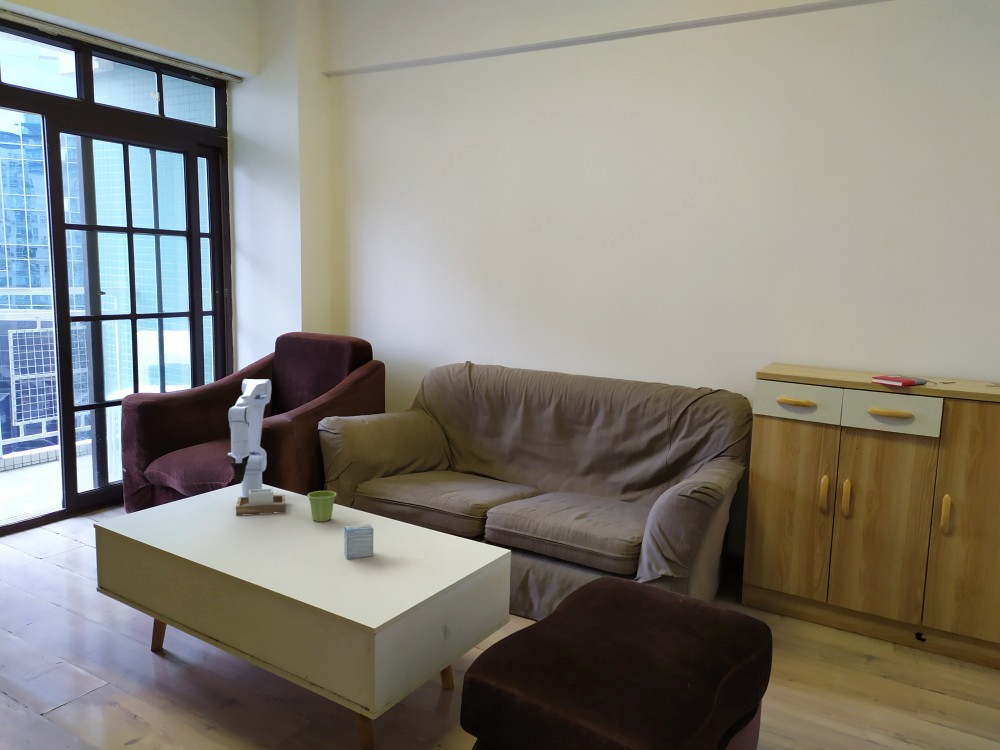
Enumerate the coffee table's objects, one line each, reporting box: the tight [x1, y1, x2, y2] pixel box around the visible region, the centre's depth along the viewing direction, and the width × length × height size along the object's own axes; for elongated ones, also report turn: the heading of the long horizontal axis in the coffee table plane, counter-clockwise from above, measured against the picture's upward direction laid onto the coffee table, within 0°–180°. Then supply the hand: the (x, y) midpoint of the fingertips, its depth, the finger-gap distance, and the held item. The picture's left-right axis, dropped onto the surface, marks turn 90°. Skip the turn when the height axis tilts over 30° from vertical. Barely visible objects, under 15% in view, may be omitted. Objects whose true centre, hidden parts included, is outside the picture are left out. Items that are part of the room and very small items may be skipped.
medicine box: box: [343, 523, 374, 560], centre depth 215 cm, size 8×4×9 cm, turn 111°
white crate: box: [249, 488, 274, 505], centre depth 258 cm, size 5×8×6 cm, turn 106°
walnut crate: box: [235, 494, 286, 516], centre depth 258 cm, size 12×16×3 cm
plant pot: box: [307, 490, 337, 522], centre depth 248 cm, size 9×9×9 cm
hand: (240, 478), depth 258 cm, fingers open, 7 cm apart
